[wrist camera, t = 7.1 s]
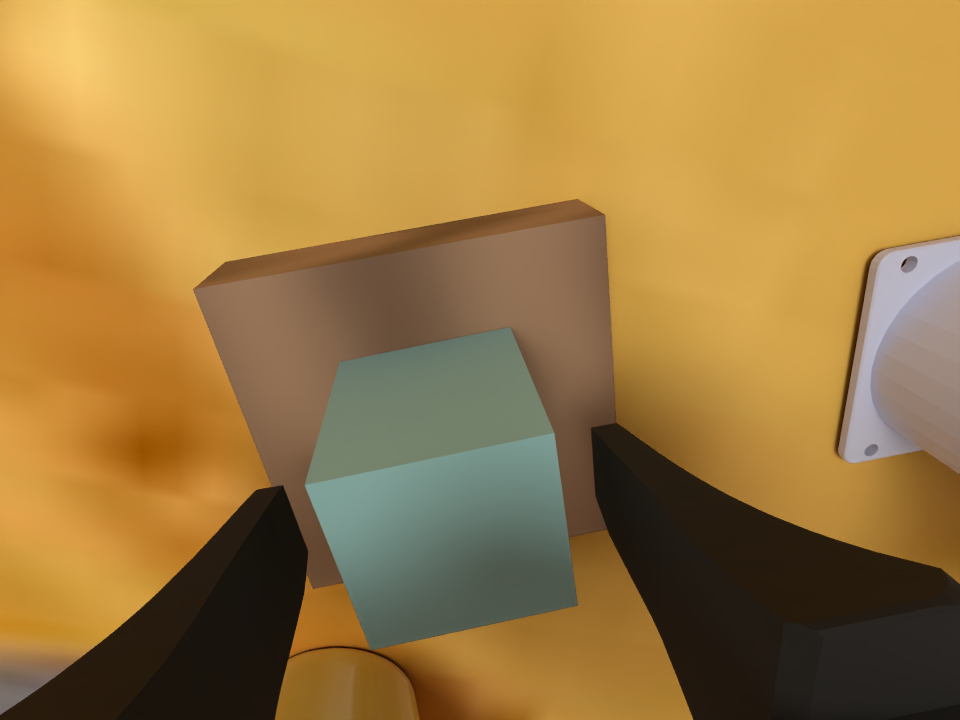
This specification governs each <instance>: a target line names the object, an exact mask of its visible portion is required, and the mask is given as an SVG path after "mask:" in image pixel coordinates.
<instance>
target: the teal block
mask: <svg viewBox="0 0 960 720" xmlns="http://www.w3.org/2000/svg"><path fill="white" fill-rule="evenodd" d="M305 487H306V490H307V492H308V495H309V497H310V500H311V502H312V505H313V507H314V510H315V512H316V515H317V517H318V520H319V522H320V525H321V527H322V530H323V532H324V535H325V537H326V540H327V542H328V545H329V547H330V550H331V552H332V554H333V557H334V559H335V562H336V564H337V567H338V569H339V572H340V574H341V577H342V579H343V582H344V584H345V587H346V589H347V592H348V594H349V597H350V599H351V602H352V604H353V607H354V609H355V612H356V614H357V617H358V619H359V621H360V624H361V626H362V629H363V631H364V634H365V636H366V639H367V641H368V644H369V646H370V649H371V650H375V649H379V648H384V647H388V646H393V645H398V644H402V643H407V642H412V641H416V640H421V639H425V638H430V637H435V636H439V635H444V634H449V633H453V632H458V631H463V630H467V629H472V628H476V627H481V626H486V625H490V624H495V623H500V622H504V621H509V620H513V619H518V618H523V617H527V616H532V615H537V614H541V613H546V612H550V611H555V610H560V609H564V608H569V607H574V606H578V603H577V596H576V588H575V581H574V574H573V566H572V559H571V552H570V544H569V537H568V530H567V522H566V515H565V508H564V500H563V493H562V485H561V478H560V471H559V463H558V456H557V449H556V441H555V434H554V431H553V429H552V426H551V424H550V421H549V419H548V417H547V414H546V412H545V409H544V407H543V405H542V402H541V400H540V397H539V395H538V393H537V390H536V388H535V385H534V383H533V381H532V378H531V376H530V373H529V371H528V369H527V366H526V364H525V361H524V359H523V357H522V354H521V352H520V349H519V347H518V345H517V342H516V340H515V337H514V335H513V333H512V330H511V328H510V327H508V328H503V329H498V330H494V331H489V332H484V333H479V334H474V335H469V336H464V337H459V338H455V339H450V340H445V341H440V342H435V343H430V344H425V345H420V346H415V347H411V348H406V349H401V350H396V351H391V352H386V353H381V354H376V355H371V356H367V357H362V358H357V359H352V360H347V361H342V362H339V366H338V369H337V373H336V376H335V380H334V383H333V387H332V390H331V394H330V397H329V401H328V404H327V408H326V411H325V415H324V419H323V422H322V426H321V429H320V433H319V436H318V440H317V443H316V447H315V450H314V454H313V457H312V461H311V464H310V468H309V472H308V475H307V479H306V482H305Z"/></svg>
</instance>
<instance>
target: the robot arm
mask: <svg viewBox="0 0 960 720" xmlns="http://www.w3.org/2000/svg"><path fill="white" fill-rule="evenodd" d="M906 258H907V261H906V263H905V265H904V266H903V267H902V268H901V265H902V263H903V261H904V260H905V259H906ZM591 438H592V453H593V468H594V483H595V497H596V499H597V502H598V505H599V508H600V511H601V514H602V516H603V519H604V522H605V524H606V527H607V530H608V532H609V535H610V537H611V539H612V541H613V543H614V545H615V547H616V549H617V551H618V553H619V555H620V556H621V558H622V560H623V562H624V564H625V566H626V568H627V570H628V572H629V574H630V576H631V578H632V580H633V582H634V584H635V586H636V587H637V589H638V591H639V593H640V595H641V597H642V599H643V601H644V603H645V605H646V607H647V609H648V611H649V613H650V614H651V616H652V618H653V621H654V623H655V625H656V627H657V629H658V631H659V634H660V636H661V638H662V640H663V643H664V645H665V648H666V650H667V653H668V655H669V658H670V660H671V663H672V665H673V668H674V670H675V673H676V675H677V678H678V681H679V683H680V686H681V688H682V691H683V694H684V696H685V699H686V701H687V704H688V707H689V709H690V712H691V714H692V717H693V720H960V584H959V583H958V582H956V581H955V580H954V579H953V578H952V577H951V576H949V575H948V574H947V573H946V572H944V571H943V570H942V569H941V568H937V567H933V566H929V565H925V564H921V563H917V562H913V561H909V560H905V559H901V558H897V557H893V556H889V555H885V554H881V553H877V552H874V551H871V550H867V549H864V548H861V547H858V546H854V545H851V544H848V543H845V542H842V541H838V540H835V539H832V538H829V537H826V536H824V535H821V534H818V533H815V532H812V531H809V530H807V529H804V528H802V527H799V526H797V525H794V524H792V523H789V522H786V521H784V520H781V519H779V518H776V517H774V516H772V515H769V514H767V513H765V512H762V511H760V510H758V509H756V508H754V507H752V506H750V505H748V504H746V503H744V502H741V501H739V500H737V499H735V498H733V497H731V496H729V495H727V494H725V493H724V492H722V491H720V490H718V489H716V488H714V487H713V486H711V485H709V484H707V483H706V482H704V481H702V480H700V479H699V478H697V477H695V476H694V475H692V474H690V473H689V472H687V471H685V470H684V469H682V468H681V467H679V466H678V465H676V464H674V463H673V462H671V461H670V460H668V459H667V458H665V457H664V456H662V455H661V454H659V453H658V452H657V451H655V450H654V449H652V448H651V447H649V446H648V445H647V444H645V443H644V442H642V441H641V440H640V439H638V438H637V437H635V436H634V435H633V434H631V433H630V432H629V431H627V430H626V429H624V428H623V427H622V426H620V425H619V424H617V423H613V424H607V425H602V426H597V427H591ZM921 450H924V451H926V452H927V453H929V454H930V455H932V456H933V457H935V458H936V459H938V460H939V461H940V462H942V463H943V464H945V465H946V466H948V467H949V468H951V469H952V470H954V471H955V472H957V473H958V474H960V236H956V237H950V238H945V239H939V240H934V241H928V242H922V243H917V244H911V245H905V246H900V247H894V248H889V249H886V250H883V251H881V252H880V253H878V254H877V255H876V256H875V257H874V259H873V260H872V262H871V265H870V268H869V274H868V280H867V286H866V292H865V297H864V303H863V309H862V315H861V321H860V327H859V332H858V338H857V344H856V350H855V356H854V361H853V367H852V373H851V379H850V385H849V390H848V396H847V402H846V408H845V414H844V420H843V425H842V431H841V437H840V443H839V449H838V453H839V455H840V457H841V458H843V459H844V460H845V461H846V462H848V463H858V462H864V461H869V460H874V459H879V458H884V457H889V456H895V455H900V454H905V453H910V452H915V451H921ZM307 561H308V549H307V546H306V544H305V541H304V539H303V536H302V533H301V531H300V528H299V525H298V523H297V520H296V518H295V515H294V512H293V510H292V507H291V504H290V502H289V499H288V497H287V494H286V491H285V489H284V486H283V485H280V486H275V487H270V488H264V489H259V490H256V491H255V492H254V493H253V494H252V495H251V496H250V497H249V498H248V499H247V500H246V501H245V502H244V503H243V504H242V505H241V506H240V508H239V509H238V510H237V511H236V512H235V513H234V514H233V515H232V516H231V517H230V519H229V520H228V521H227V522H226V523H225V524H224V525H223V526H222V527H221V528H220V529H219V531H218V532H217V533H216V534H215V535H214V536H213V537H212V538H211V539H210V540H209V541H208V542H207V543H206V545H205V546H204V547H203V548H202V549H201V550H200V551H199V552H198V553H197V554H196V555H195V556H194V557H193V558H192V559H191V560H190V561H189V562H188V563H187V564H186V565H185V566H184V567H183V568H182V569H181V570H180V571H179V572H178V573H177V574H176V575H175V576H174V577H173V578H172V579H171V580H170V581H169V582H168V583H167V584H166V585H165V586H164V587H163V588H162V589H161V590H160V591H159V592H158V593H157V594H156V595H155V596H154V597H153V598H152V599H151V600H150V601H149V602H147V603H146V604H145V605H144V606H143V607H142V608H141V609H140V610H139V611H137V612H136V613H135V614H134V615H133V616H132V617H130V618H129V619H128V620H127V621H126V622H125V623H123V624H122V625H121V626H120V627H119V628H118V629H116V630H115V631H114V632H113V633H112V634H110V635H109V636H108V637H107V638H106V639H104V640H103V641H102V642H100V643H99V644H98V645H97V646H95V647H94V648H93V649H91V650H90V651H89V652H87V653H86V654H85V655H84V656H82V657H81V658H80V659H78V660H77V661H76V662H74V663H73V664H72V665H71V666H69V667H68V668H67V669H65V670H64V671H63V672H61V673H60V674H59V675H57V676H56V677H55V678H53V679H52V680H51V681H49V682H48V683H46V684H45V685H43V686H42V687H41V688H39V689H38V690H36V691H35V692H34V693H32V694H31V695H29V696H28V697H26V698H25V699H23V700H22V701H21V702H19V703H18V704H16V705H15V706H13V707H12V708H10V709H9V710H7V711H6V712H4V713H3V714H1V715H0V720H275V716H276V711H277V706H278V701H279V696H280V691H281V687H282V683H283V679H284V675H285V671H286V666H287V662H288V658H289V654H290V650H291V646H292V642H293V638H294V634H295V630H296V626H297V621H298V617H299V613H300V609H301V605H302V600H303V596H304V589H305V581H306V572H307Z"/></svg>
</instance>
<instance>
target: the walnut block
mask: <svg viewBox="0 0 960 720" xmlns="http://www.w3.org/2000/svg"><path fill="white" fill-rule="evenodd" d="M193 291H194V293H195V296H196V298H197V301H198V303H199V306H200V308H201V311H202V313H203V316H204V318H205V321H206V323H207V325H208V328H209V330H210V333H211V335H212V338H213V340H214V343H215V345H216V348H217V350H218V353H219V355H220V358H221V360H222V363H223V365H224V368H225V370H226V373H227V375H228V378H229V380H230V383H231V385H232V388H233V390H234V393H235V395H236V398H237V400H238V403H239V405H240V408H241V410H242V413H243V415H244V418H245V420H246V423H247V425H248V428H249V430H250V433H251V435H252V438H253V440H254V443H255V445H256V448H257V450H258V453H259V455H260V458H261V460H262V463H263V465H264V468H265V470H266V473H267V475H268V477H269V480H270V482H271V485H272V487H275V486H280V485H283V486H284V489H285V491H286V494H287V497H288V499H289V502H290V504H291V507H292V510H293V512H294V515H295V518H296V520H297V523H298V525H299V528H300V531H301V533H302V536H303V539H304V541H305V544H306V546H307V549H308V561H307V575H308V577H309V580H310V582H311V585H312V587H313V589H315V588H320V587H325V586H330V585H335V584H340V583H344V582H343V579H342V577H341V574H340V572H339V569H338V567H337V564H336V562H335V559H334V557H333V554H332V552H331V550H330V547H329V545H328V542H327V540H326V537H325V535H324V532H323V530H322V527H321V525H320V522H319V520H318V517H317V515H316V512H315V510H314V507H313V505H312V502H311V500H310V497H309V495H308V492H307V490H306V487H305V482H306V479H307V475H308V472H309V468H310V464H311V461H312V457H313V454H314V450H315V447H316V443H317V440H318V436H319V433H320V429H321V426H322V422H323V419H324V415H325V411H326V408H327V404H328V401H329V397H330V394H331V390H332V387H333V383H334V380H335V376H336V373H337V369H338V366H339V362H342V361H347V360H352V359H357V358H362V357H367V356H371V355H376V354H381V353H386V352H391V351H396V350H401V349H406V348H411V347H415V346H420V345H425V344H430V343H435V342H440V341H445V340H450V339H455V338H459V337H464V336H469V335H474V334H479V333H484V332H489V331H494V330H498V329H503V328H508V327H510V328H511V330H512V333H513V335H514V337H515V340H516V342H517V345H518V347H519V349H520V352H521V354H522V357H523V359H524V361H525V364H526V366H527V369H528V371H529V373H530V376H531V378H532V381H533V383H534V385H535V388H536V390H537V393H538V395H539V397H540V400H541V402H542V405H543V407H544V409H545V412H546V414H547V417H548V419H549V421H550V424H551V426H552V429H553V431H554V434H555V441H556V449H557V456H558V463H559V471H560V478H561V485H562V493H563V500H564V508H565V515H566V522H567V530H568V537H572V536H577V535H582V534H587V533H592V532H597V531H602V530H607V527H606V524H605V522H604V519H603V516H602V514H601V511H600V508H599V505H598V502H597V499H596V497H595V483H594V468H593V453H592V438H591V427H597V426H602V425H607V424H613V423H616V411H615V393H614V374H613V355H612V336H611V317H610V298H609V279H608V260H607V242H606V223H605V215H604V214H603V213H601V212H599V211H597V210H596V209H594V208H592V207H590V206H589V205H587V204H585V203H583V202H582V201H580V200H578V199H575V200H570V201H564V202H558V203H553V204H547V205H542V206H536V207H530V208H525V209H519V210H514V211H508V212H503V213H497V214H491V215H486V216H480V217H475V218H469V219H463V220H458V221H452V222H447V223H441V224H435V225H430V226H424V227H419V228H413V229H408V230H402V231H396V232H391V233H385V234H380V235H374V236H368V237H363V238H357V239H352V240H346V241H340V242H335V243H329V244H324V245H318V246H313V247H307V248H301V249H296V250H290V251H285V252H279V253H273V254H268V255H262V256H257V257H251V258H245V259H240V260H234V261H229V262H225V263H224V264H223V265H221V266H220V267H219V268H218V269H217V270H215V271H214V272H213V273H212V274H211V275H209V276H208V277H207V278H206V279H205V280H204V281H202V282H201V283H200V284H199V285H198V286H196V287H195V288H194V289H193Z"/></svg>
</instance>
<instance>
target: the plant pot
mask: <svg viewBox="0 0 960 720" xmlns="http://www.w3.org/2000/svg"><path fill="white" fill-rule="evenodd" d="M275 720H420V719H419V714H418V709H417V704H416V699H415V694H414V690H413V687H412V685H411V682H410V681H409V679H408V678H407V676H406V675H405V674H404V673H403V671H402V670H400V669H399V668H398V667H397V666H396V665H395V664H393V663H392V662H390V661H388V660H387V659H385V658H383V657H380V656H378V655H376V654H373V653H369V652H366V651H361V650H356V649H349V648H327V649H318V650H313V651H309V652H305V653H301V654H298V655H296V656H294V657H292V658H289V659H288V662H287V666H286V671H285V675H284V679H283V683H282V687H281V691H280V696H279V701H278V706H277V711H276V716H275Z"/></svg>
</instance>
